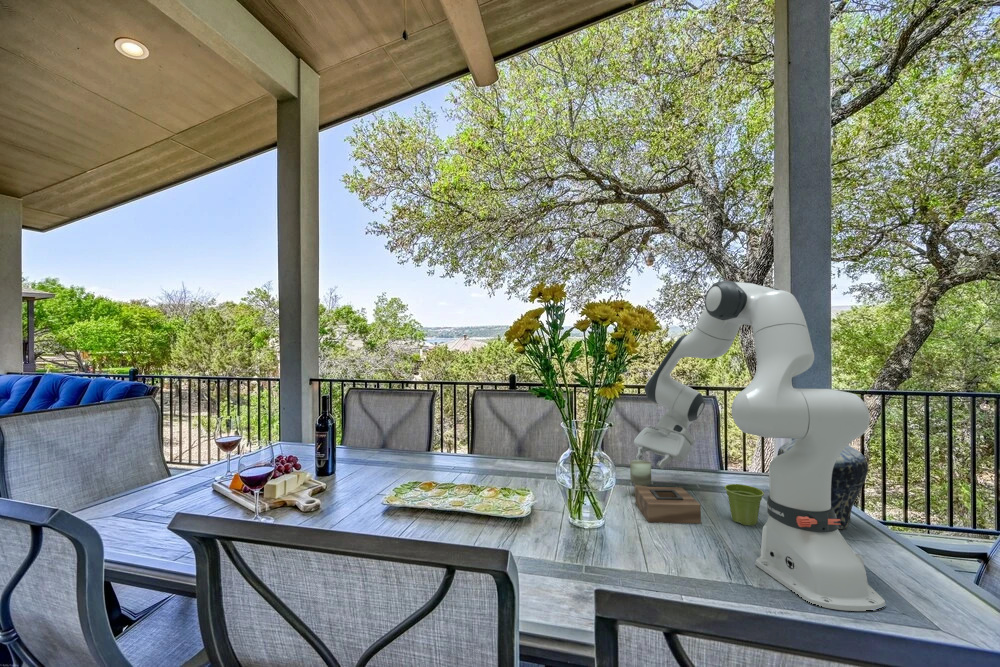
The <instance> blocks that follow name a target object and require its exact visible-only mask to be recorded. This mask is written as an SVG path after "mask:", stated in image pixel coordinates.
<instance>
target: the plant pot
mask: <svg viewBox="0 0 1000 667" xmlns="http://www.w3.org/2000/svg"><path fill="white" fill-rule="evenodd" d="M724 490H725V491H726V495H727V498H728V504H729V509H730V516H731V520H732V521H733V522H735V523H739V524H741V525H744V526H755V525H756V524H758V520H759V514H760V513H759V512H760V506H761V501H762V499H763V496H764V495H765V493H764V491H763V490H762V489H760V488H758V487H756V486H751V485H747V484H741V483H739V484H738V483H730V484H726V485H724Z"/></svg>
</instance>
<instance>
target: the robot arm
mask: <svg viewBox="0 0 1000 667" xmlns="http://www.w3.org/2000/svg"><path fill="white" fill-rule="evenodd" d="M704 307H705V308H704V309H703V311H702V313H701V315H700V317H699V318H698V321H697V323H696V325H695V327H694V329H693V330H692V331H691V332H690V333H688V334H682V335H680V337H678V339H676V341H675V342H674V344H673V345H672V346H671V348H670V349H669V350H668V352H667V353H666V355H665V357H664V358H663V359H662V361H661V363H660V364H659V366H658V367H657V369H655V370H656V371H654V373H653V375H651V376H650V377H649V379H648V381H647V382H646V384H645V386H644V393H645V395H646V398H647V399H648V401H650V402H653V403H655V404H658V405H660V406H661V407H664V408H666V409H667V411H666V412H665V413H664V414H663V415H662V416H661V418H660V419H659V421H658V423H657V424H656V425H655V426H653V425H650V426H646V427H645V428H643V429H642V430H641V431H640V432H639V433H638V435H636V437H635V438H634V440H633V443H634V445H635V446H636V448H637V450H638V451H637V454H636V456H635V460H644V459H645V457H644V456H643V455H644V454H645V453H646V452H649V453H652V454H654V455H655V454H656V455H658V456H661V457H664V458H663V459H661V460H658V461H657V463H656V466H657V468H659V469H662V470H663V469H664V468H665V467H666V466H667V465H668V464H670V463H672V461H677V462H679V463H681V462H683V461H685V460H686V459H687V457H688V456H689V454H690V452H691V451H692V447H693V445H695V444H696V439H695V438H694V437H693V435H692V434H691V433H690V432H689V431H688V430H689V426H690V425H691V424H692V423H693V422H694V421H697V420H698V418H699V417H700V415H701V413H702V412H703V410H704V408H705V406H706V402H705V399H704V395H703V394H702V393H701V392H699V391H698V390H696V389H693V388H692V387H691V386H689V385H686V384H684V383H681V381H678V380H676V379H673V377H672V376H671V373H672V372H673V370H674V369H675V367H676V366H677V365H678V363H679V361H680V360H681V359H683V358H694V359H702V360H703V359H704V360H708V359H709V360H710V359H716V358H720V357H722V356H723V355H725V354H727V352H728V351H729V349H730V348H731V347H732V345H733V343H734V341H735V339H736V337H737V335H738V332H739V330H740V328H741V326H742V325H744V326H751V328H752V335H753V340H754V348H755V356H756V371H755V374H754V376H753V379H751V382H750V383H748V385H746V387H745V388H744V389H743V390H741V391H739V392H738V393H737V394H736V396H735V397H734V399H733V400H732V403H731V416H732V419H733V421H734V424H735V425H736V426H737V428H738V429H739V430H740V431H741V432H743V433H744V434H748V435H752V436H757V437H763V438H769V439H792V440H794V439H796V442H795V444H794V445H793V447H792V448H791V449H790V450H789V451H787V452H785V453H783V454H780V455H778V456H775V457H773V459H772V460H771V462H770V464H769V466H768V485H769V495H768V496H767V500H766V507H767V509H766V510H767V514H768V518H767V520H766V522H765V523H764V525H763V527H762V532H761V534H762V535H761V545H760V546H761V548H760V556H758V557H757V558H755V566H757V567H758V568H759V569H761V570H762V571H763V572H765V573H766V574H767V575H769V576H770V577H772V578H773V579H774V580H776V581H777V582H779V583H780V584H782V585H783V586H785V587H786V588H787V589H789V590H790V591H791V590H792V592H793V593H794V592H795V593H794V594H795V595H797V594H798V595H799V597H800V598H801V597H802V598H801V599H803V600H804V601H805V600H806V602H807V601H808V602H807V603H809V602H810V603H809V604H811V603H812V604H811V605H813V604H816V605H815V606H817V605H819V606H818V607H821V606H822V608H826V609H831V610H839V611H845V612H849V611H850V612H851V611H852V612H853V611H854V612H867V611H866V610H871V609H876V608H879V607H882V606H884V605H886V600H885V599H884V598H883V597H882V596H881V595H879V593H878V592H877V591H875V589H874V588H872V587H871V586H870V585H869V583H868V577H867V571H866V568H865V561H864V558H863V556H862V555H861V554H858V553H855V552H854V550H853V548H852V547H851V546H850V545H849V543H848V542H847V540H846V538H844V536H843V535H842V534H841V532H840V530H839V529H838V528H839V526H838V525H841V524H840V523H837V521H841V520H840V519H836V518H837V517H836V514H835V512H834V509H833V507H832V506H831V479H832V471H833V467H834V464H835V462H836V460H837V458H838V456H839V455H840V453H841V452H842V451H843V449H844V448H845V447H846V446H847V445H849V444H851V443H852V442H854V441H855V440H856V439H858V438H859V437H862V436H863V435H864V434H865V432H866V431H868V428H869V426H870V423H871V422H870V421H871V416H870V410H869V408H868V406H867V405H866V403H865V402H864V400H863V399H862V398H861V397H860V396H859V395H857V393H852V392H847V391H843V390H838V389H831V388H798V387H793V383H792V382H793V381H792V379H793V378H794V377H797V376H799V375H801V374H803V373H804V372H807V371H808V370H809V369H810V368H811V367H812V366H813V364H814V362H815V353H814V352H815V351H814V349H813V345H812V340H811V336H810V331H809V328H808V324H807V321H806V318H805V315H804V312H803V309H802V308H801V305H800V304H799V302H798V300H797V298H796V297H795V295H794V294H792V293H791V292H789V291H787V290H782V289H780V288H775V287H773V288H772V287H768V286H765V285H760V284H759V285H758V284H756V283H752V282H743V281H742V282H741V281H740V282H739V281H732V280H723V281H721V280H720V281H716V282H715V283H714V284H712V285H711V287H709V289H708V290H707V292H706V294H705V299H704ZM798 595H797V596H798Z"/></svg>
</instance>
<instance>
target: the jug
mask: <svg viewBox="0 0 1000 667" xmlns="http://www.w3.org/2000/svg"><path fill="white" fill-rule="evenodd" d="M795 442H796V439H792V440H789V441H787V442H785V443H784V444H782V445H781V446H780V447H779V449H778V451H777V456H778V455H780V454H783V453H785V452H787V451H789V450H790V449H791V448H792V447H793V445H794V444H795ZM777 456H776V457H777ZM867 460H868V459H866V457H865V455H863V454H862V453H861V452H860V451H859V450H858V449H856V448H854V447H852V446H851V445H849V444H848V445H847V446H846V447H845V448H844V449H843V451H842V452H841V453H840V455H839V456H838V458H837V460H836V462H835V464H834V467H833V471H832V479H831V506H832V507H833V509H834V512H835V514H836V517H837V518H836V519H840V520H841V521H837V523H840V524H841V525H838V526H839V528H838V530H839V529H840V530H841V529H846V528H847V527H849V525H850V521H851V515H852V514H851V512H852V508H853V506H854V503H855V501H856V499H857V498H858V496H859V493H860V492H861V491H862V488H863V486H864V483H865V482H866V477H867V474H868V468H869V467H868V466H869V465H868V461H867Z"/></svg>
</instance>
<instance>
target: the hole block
mask: <svg viewBox="0 0 1000 667" xmlns="http://www.w3.org/2000/svg"><path fill="white" fill-rule="evenodd" d="M634 496H635V504H637V505H636V507H638V509H639V510H640V512H641V513H642V515H643V517H644V518H645V519H646V521H647V522H648V523H653V522H656V523H657V524H659V522H663V524H674V523H675V524H702V514H701V513H702V511H701V510H702V509H701V504H700V503H699V502H698V500H696V499H695V498H694V497H693V496H692V495H691V494H690V493H688V492H687V491H686V490H685V489H684V488H683V487H675V486H674V487H673V486H670V487H668V486H667V487H666V486H664V487H663V486H647V487H635V491H634Z"/></svg>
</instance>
